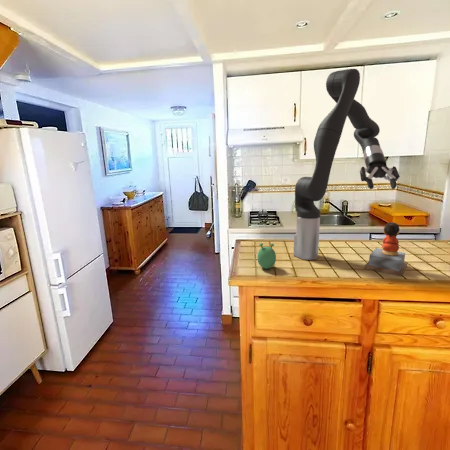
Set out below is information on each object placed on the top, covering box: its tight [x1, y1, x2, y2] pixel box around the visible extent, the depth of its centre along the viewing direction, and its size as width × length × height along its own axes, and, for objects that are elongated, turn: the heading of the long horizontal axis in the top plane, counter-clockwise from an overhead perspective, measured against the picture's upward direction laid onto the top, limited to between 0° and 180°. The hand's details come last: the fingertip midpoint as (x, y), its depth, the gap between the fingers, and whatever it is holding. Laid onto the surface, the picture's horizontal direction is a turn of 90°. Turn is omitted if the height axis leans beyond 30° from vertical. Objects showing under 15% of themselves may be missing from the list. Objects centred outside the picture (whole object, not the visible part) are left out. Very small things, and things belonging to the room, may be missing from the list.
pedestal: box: [364, 247, 408, 277], centre depth 108 cm, size 12×12×5 cm
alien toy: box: [256, 242, 277, 270], centre depth 109 cm, size 7×8×10 cm
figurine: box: [381, 221, 400, 256], centre depth 106 cm, size 6×6×12 cm
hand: (383, 187), depth 115 cm, fingers open, 8 cm apart
